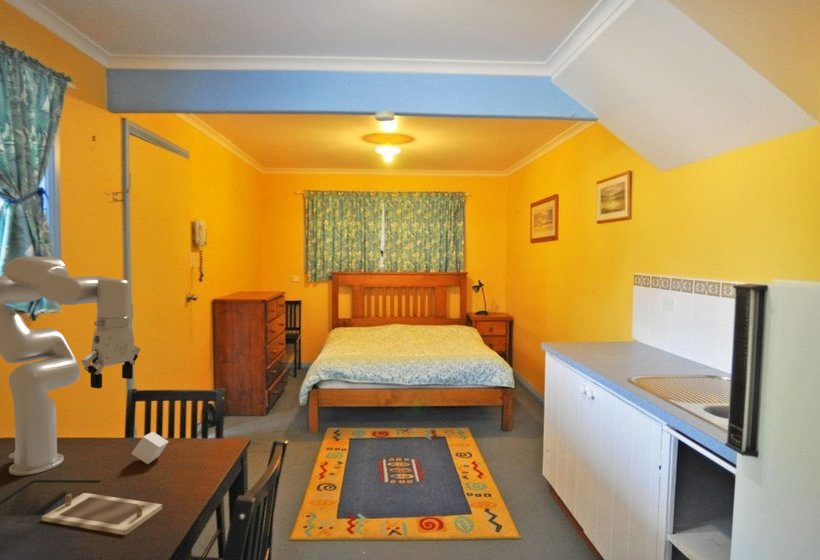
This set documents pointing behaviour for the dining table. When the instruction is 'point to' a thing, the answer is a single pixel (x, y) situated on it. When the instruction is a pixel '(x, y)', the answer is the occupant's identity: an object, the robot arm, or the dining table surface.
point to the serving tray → (102, 513)
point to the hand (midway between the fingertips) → (112, 382)
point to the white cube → (149, 447)
